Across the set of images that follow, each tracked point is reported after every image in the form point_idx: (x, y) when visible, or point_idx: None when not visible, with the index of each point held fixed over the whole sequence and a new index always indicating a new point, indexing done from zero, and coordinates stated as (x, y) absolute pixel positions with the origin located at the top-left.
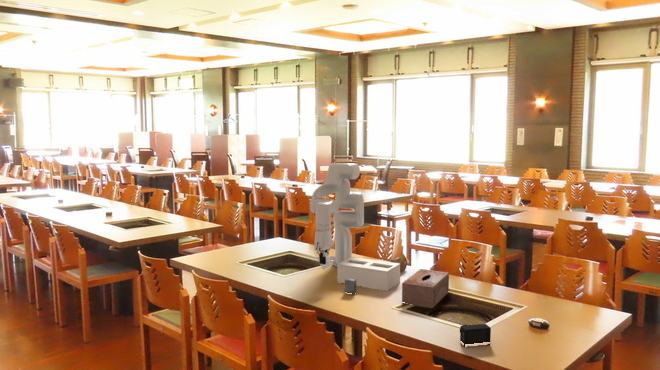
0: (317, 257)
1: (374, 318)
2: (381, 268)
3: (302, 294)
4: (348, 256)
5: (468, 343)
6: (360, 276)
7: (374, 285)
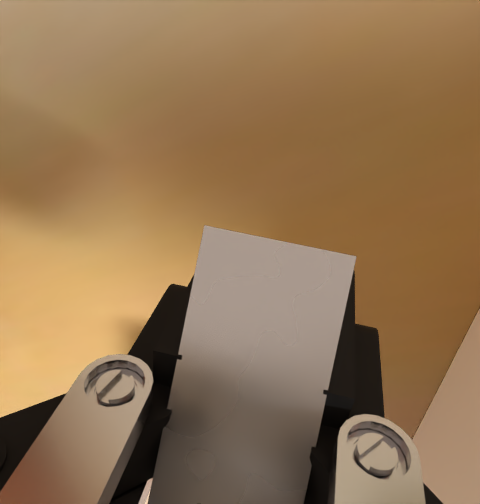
0: (202, 250)
1: None
2: None
3: (58, 8)
4: None
5: None
6: (457, 460)
7: None
